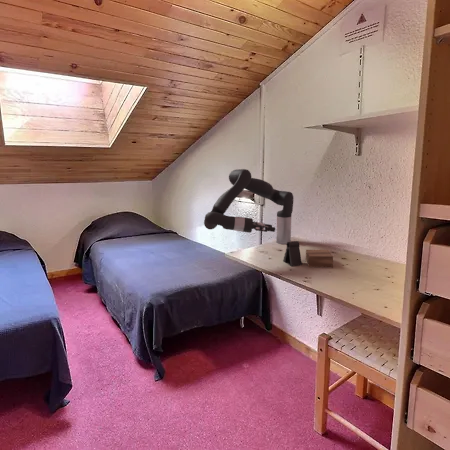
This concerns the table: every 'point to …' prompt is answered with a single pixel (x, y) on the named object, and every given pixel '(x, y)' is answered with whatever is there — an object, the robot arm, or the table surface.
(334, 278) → the table surface
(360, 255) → the table surface
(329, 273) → the table surface
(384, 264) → the table surface
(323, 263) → the walnut block
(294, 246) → the phone stand
